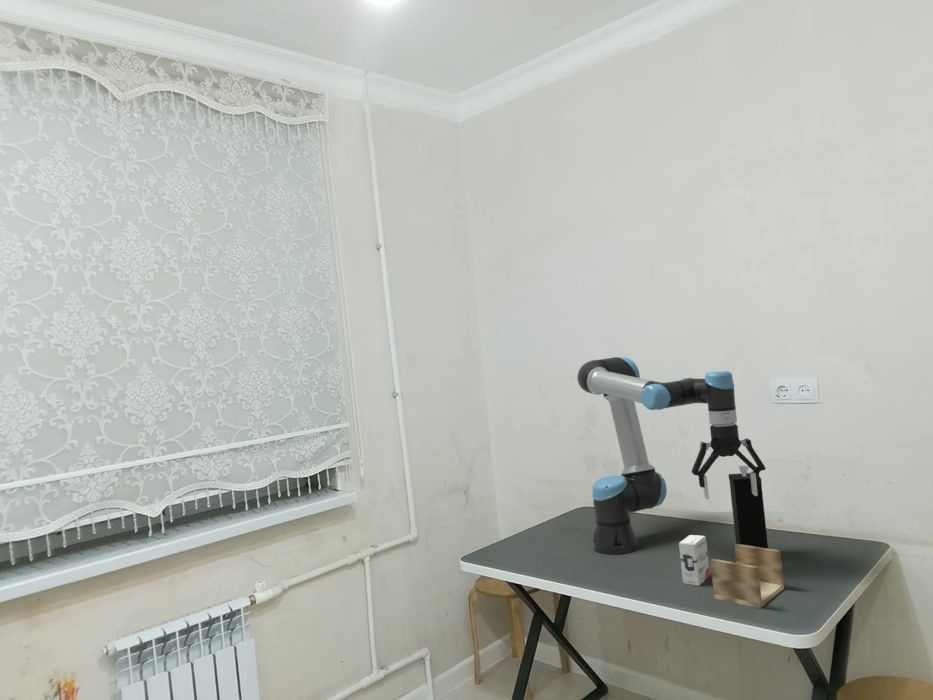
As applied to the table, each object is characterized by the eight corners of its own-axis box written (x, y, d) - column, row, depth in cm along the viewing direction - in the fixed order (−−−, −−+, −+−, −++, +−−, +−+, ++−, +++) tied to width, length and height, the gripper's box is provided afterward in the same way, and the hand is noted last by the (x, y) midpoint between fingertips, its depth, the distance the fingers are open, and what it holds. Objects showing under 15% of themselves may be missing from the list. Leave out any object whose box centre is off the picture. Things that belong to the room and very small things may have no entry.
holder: (714, 598, 170) (710, 560, 170) (739, 579, 181) (736, 543, 181) (760, 608, 161) (756, 568, 161) (784, 588, 172) (780, 550, 172)
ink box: (693, 573, 189) (689, 533, 189) (710, 576, 186) (706, 535, 186) (682, 583, 182) (678, 542, 182) (699, 586, 179) (695, 544, 179)
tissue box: (769, 559, 194) (760, 467, 194) (741, 560, 195) (732, 468, 195) (763, 551, 201) (753, 462, 201) (736, 552, 203) (727, 463, 203)
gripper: (682, 429, 186) (689, 502, 186) (772, 422, 183) (779, 496, 183) (677, 426, 194) (684, 496, 194) (763, 419, 190) (770, 490, 191)
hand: (730, 496), depth 188 cm, fingers open, 13 cm apart
